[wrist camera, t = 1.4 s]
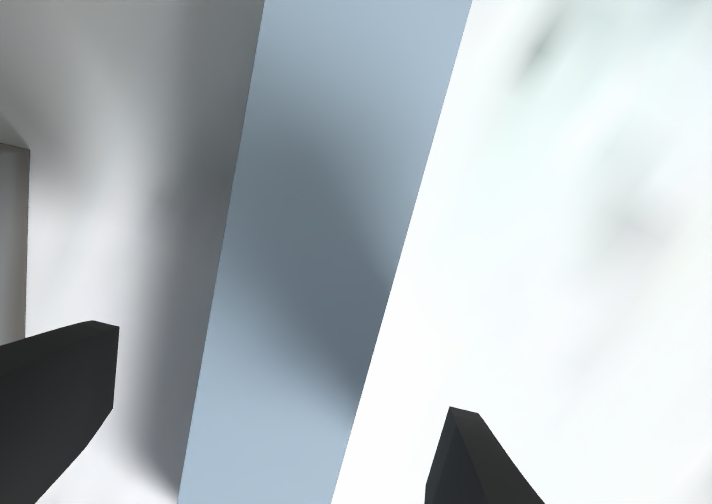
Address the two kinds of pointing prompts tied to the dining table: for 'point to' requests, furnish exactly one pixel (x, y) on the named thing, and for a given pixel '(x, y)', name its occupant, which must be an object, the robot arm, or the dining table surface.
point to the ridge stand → (13, 241)
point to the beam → (314, 239)
